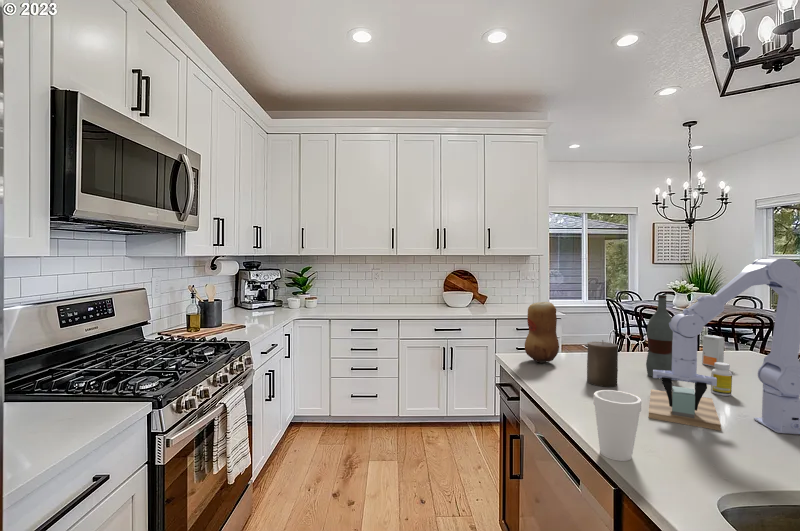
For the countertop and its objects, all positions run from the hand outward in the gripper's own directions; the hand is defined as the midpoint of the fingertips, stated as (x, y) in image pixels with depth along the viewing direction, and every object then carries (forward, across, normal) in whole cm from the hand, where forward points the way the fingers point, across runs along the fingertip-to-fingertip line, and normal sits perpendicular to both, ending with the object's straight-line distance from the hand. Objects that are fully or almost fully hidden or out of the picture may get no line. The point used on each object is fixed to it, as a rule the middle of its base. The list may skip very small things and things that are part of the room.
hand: (682, 407), depth 119 cm
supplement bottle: (+3, +11, +32) cm, 34 cm away
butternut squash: (+3, -48, +42) cm, 63 cm away
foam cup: (+3, -14, -34) cm, 37 cm away
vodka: (+3, -6, +45) cm, 45 cm away
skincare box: (+3, +13, +75) cm, 76 cm away
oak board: (+3, 0, +7) cm, 8 cm away
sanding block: (+1, 0, 0) cm, 1 cm away
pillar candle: (+3, -23, +24) cm, 33 cm away
